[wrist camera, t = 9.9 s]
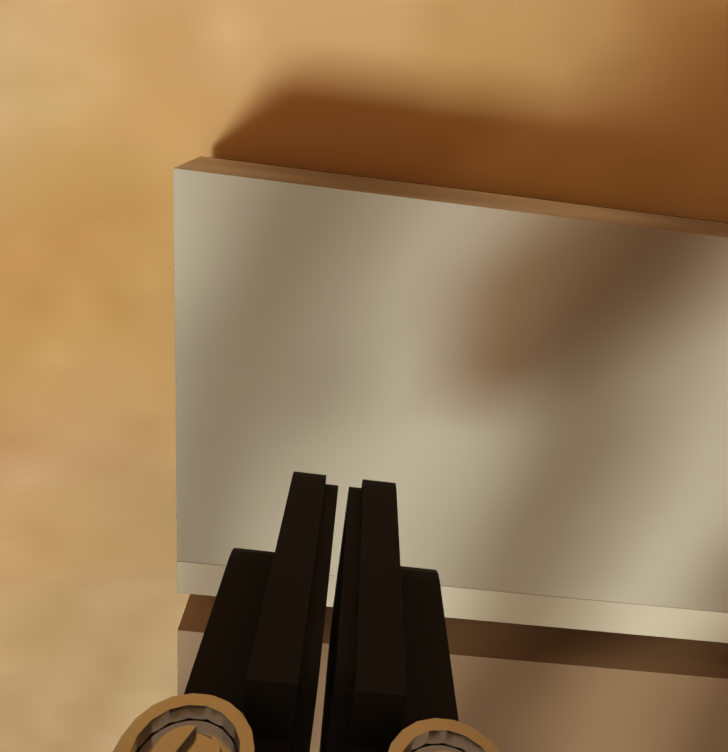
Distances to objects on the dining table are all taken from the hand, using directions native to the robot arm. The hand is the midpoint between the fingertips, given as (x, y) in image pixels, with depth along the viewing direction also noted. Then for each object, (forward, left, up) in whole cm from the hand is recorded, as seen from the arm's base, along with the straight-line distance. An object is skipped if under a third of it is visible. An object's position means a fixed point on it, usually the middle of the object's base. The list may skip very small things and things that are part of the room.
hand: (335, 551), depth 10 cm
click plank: (-5, 0, -5) cm, 8 cm away
